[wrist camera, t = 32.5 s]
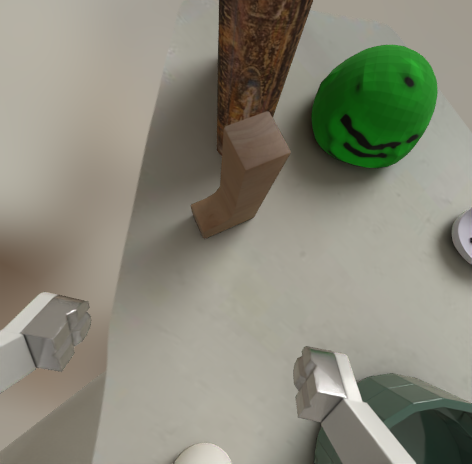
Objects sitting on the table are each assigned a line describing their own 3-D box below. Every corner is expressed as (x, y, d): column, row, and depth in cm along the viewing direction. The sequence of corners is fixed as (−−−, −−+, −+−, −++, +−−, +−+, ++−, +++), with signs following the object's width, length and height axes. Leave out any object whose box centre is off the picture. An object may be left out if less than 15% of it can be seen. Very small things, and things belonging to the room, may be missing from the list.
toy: (297, 157, 32) (333, 101, 23) (315, 74, 35) (354, -7, 26) (397, 184, 33) (474, 141, 23) (406, 100, 36) (478, 30, 26)
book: (258, 164, 32) (407, -242, 7) (215, 158, 31) (218, -288, 7) (269, 57, 35) (392, -454, 11) (230, 51, 35) (267, -491, 11)
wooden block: (242, 193, 31) (269, 108, 16) (254, 217, 30) (293, 152, 16) (192, 214, 30) (172, 143, 15) (203, 239, 29) (194, 191, 14)
